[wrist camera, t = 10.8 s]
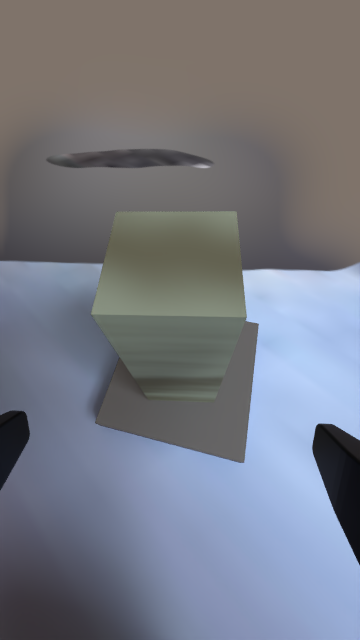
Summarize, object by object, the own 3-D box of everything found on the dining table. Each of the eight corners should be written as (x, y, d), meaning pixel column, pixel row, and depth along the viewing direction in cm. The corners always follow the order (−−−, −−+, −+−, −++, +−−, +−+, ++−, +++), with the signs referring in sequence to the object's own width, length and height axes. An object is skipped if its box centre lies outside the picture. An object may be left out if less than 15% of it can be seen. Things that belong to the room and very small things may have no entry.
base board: (240, 462, 19) (244, 462, 17) (101, 425, 20) (94, 423, 19) (254, 331, 24) (258, 323, 22) (143, 310, 25) (140, 301, 24)
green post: (213, 402, 19) (246, 317, 8) (148, 400, 20) (90, 314, 8) (212, 342, 22) (236, 211, 10) (154, 340, 22) (116, 211, 11)
